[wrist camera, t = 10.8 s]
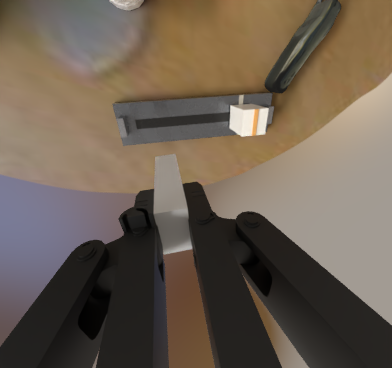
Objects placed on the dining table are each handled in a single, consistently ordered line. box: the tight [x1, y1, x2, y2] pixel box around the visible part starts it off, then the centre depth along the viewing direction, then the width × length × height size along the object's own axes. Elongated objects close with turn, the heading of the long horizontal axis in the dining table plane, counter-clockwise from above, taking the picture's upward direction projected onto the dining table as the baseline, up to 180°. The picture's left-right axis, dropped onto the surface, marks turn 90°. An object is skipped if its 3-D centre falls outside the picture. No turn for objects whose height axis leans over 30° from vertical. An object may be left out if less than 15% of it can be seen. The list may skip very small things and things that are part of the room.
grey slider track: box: [113, 92, 274, 146], centre depth 33 cm, size 7×28×4 cm, turn 93°
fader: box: [229, 104, 269, 137], centre depth 31 cm, size 4×4×6 cm
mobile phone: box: [265, 0, 341, 93], centre depth 29 cm, size 5×3×15 cm
